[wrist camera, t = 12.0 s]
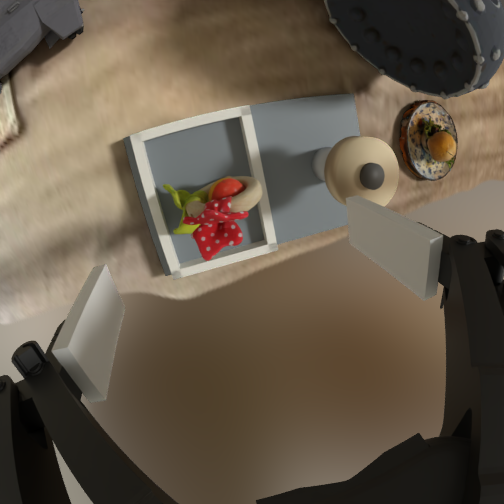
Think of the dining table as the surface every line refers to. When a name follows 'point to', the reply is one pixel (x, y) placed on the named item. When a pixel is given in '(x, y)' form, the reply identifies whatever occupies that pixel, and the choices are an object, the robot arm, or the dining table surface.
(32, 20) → the toy tank
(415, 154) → the burger
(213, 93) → the dining table surface
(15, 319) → the dining table surface
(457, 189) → the dining table surface
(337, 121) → the board
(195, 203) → the bird rattle
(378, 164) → the wheel
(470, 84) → the dotted grey bowl
